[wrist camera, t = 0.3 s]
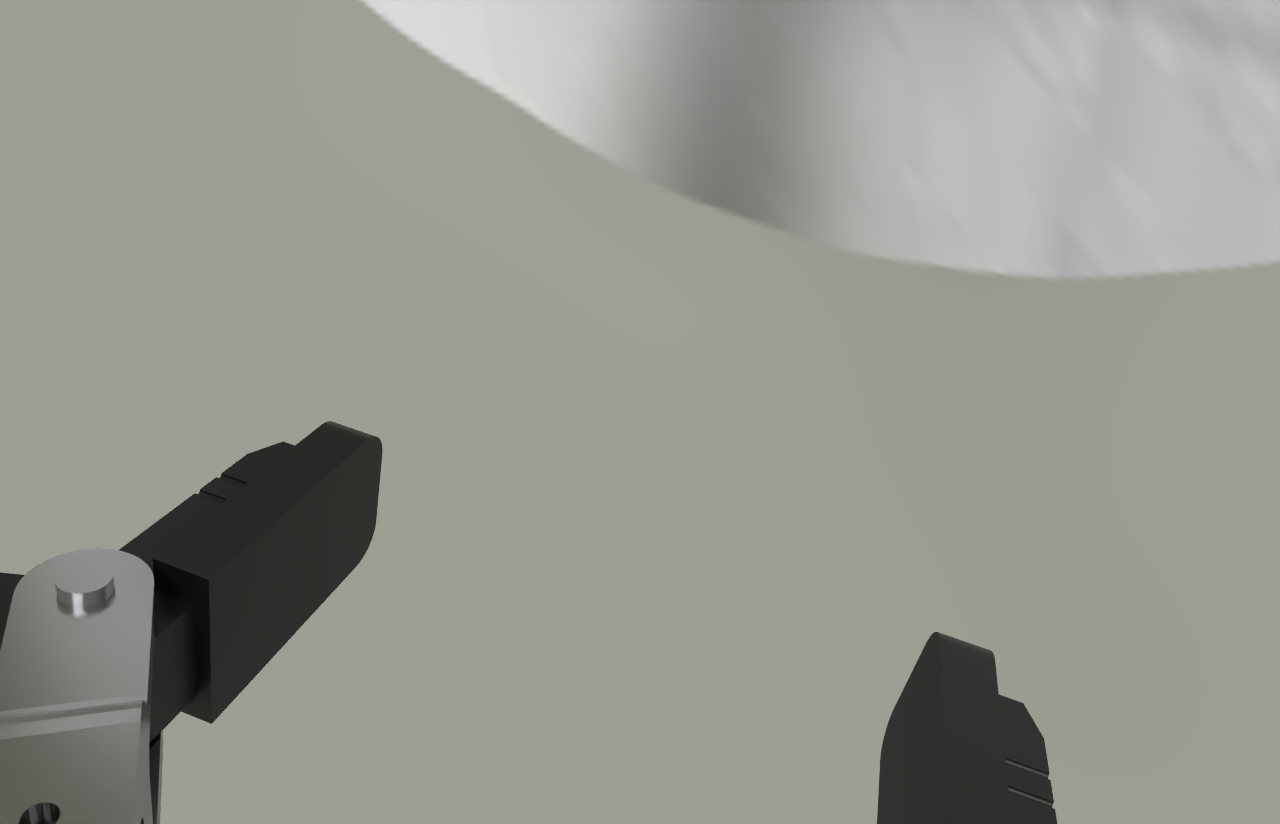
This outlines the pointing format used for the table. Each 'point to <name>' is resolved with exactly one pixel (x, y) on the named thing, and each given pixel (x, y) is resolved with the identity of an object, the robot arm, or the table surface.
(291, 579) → the robot arm
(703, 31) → the table surface
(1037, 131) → the table surface
